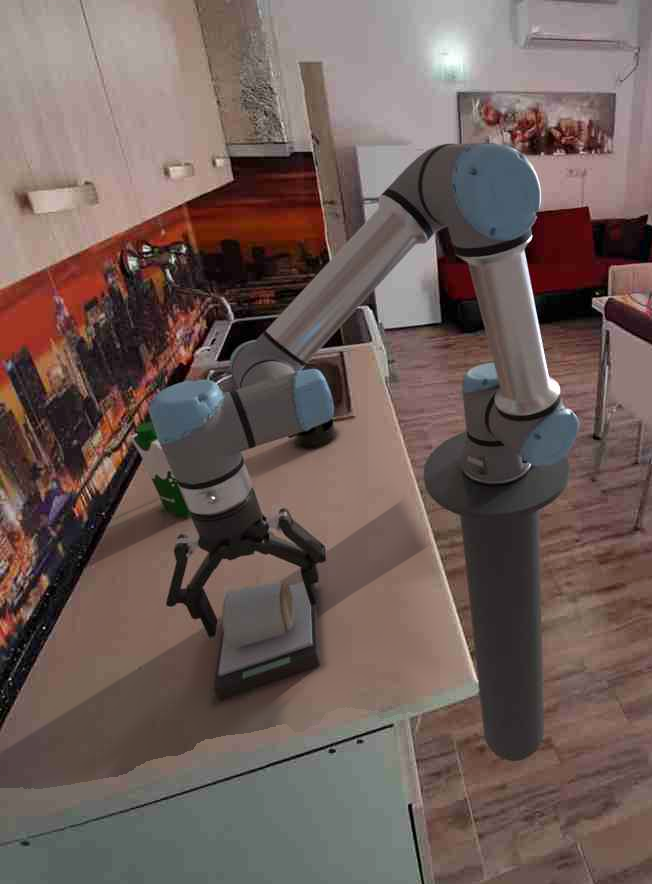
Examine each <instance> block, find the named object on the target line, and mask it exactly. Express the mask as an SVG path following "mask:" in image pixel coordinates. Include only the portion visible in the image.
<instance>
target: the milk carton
mask: <svg viewBox="0 0 652 884" xmlns="http://www.w3.org/2000/svg"><path fill="white" fill-rule="evenodd" d="M134 430H135V432H136V433H134V434H132V435H130V436H129V438H130V440H131V442H132V443H133V445H134V446H135V449H136V450H137V451H138V453H139V455H140V457H141V458H142V461H143V462H144V465H145V467H146V469H147V471H148V474H149V476H150V478H151V480H152V483H153V486H154V488H155V489H156V492H157V494H158V497H159V499H160V501H161V504H162V506H163V508H164V510H165V511H168V512H171V513H174V514H177V515H180V516H182V517H184V518H190V517H191V516H190V510H189V509H188V508H187V505H186V503H185V501H184V498H183V496H182V494H181V491H180V489H179V487H178V484H177V481H176V479H175V477H174V475H173V472H172V470H171V468H170V466H169V463H168V461H167V459H166V456H165V454H164V452H163V450H162V447H161V445H160V443H159V441H158V439H157V434H156V431H155V428H154V426H153V423H152V420H149V421H145V422H143V423H141V424H138V425H137V427H135V429H134Z"/></svg>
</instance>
